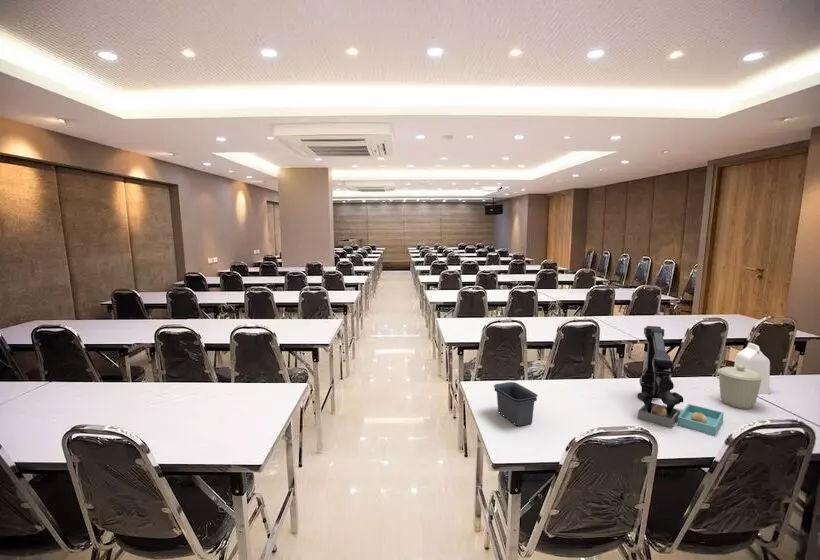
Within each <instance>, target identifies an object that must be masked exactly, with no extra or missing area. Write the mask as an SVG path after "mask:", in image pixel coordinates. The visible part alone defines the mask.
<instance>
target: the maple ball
mask: <svg viewBox="0 0 820 560" xmlns="http://www.w3.org/2000/svg"><path fill="white" fill-rule="evenodd" d="M661 405H662V404H659V405H655V406H654V407H653V408H652V413H653V414H655V415H659V416H663V417H665V416H666V414H667V411H666V409H665V408H664V407H663V406H661Z"/></svg>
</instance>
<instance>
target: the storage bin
mask: <svg viewBox="0 0 820 560" xmlns="http://www.w3.org/2000/svg"><path fill="white" fill-rule="evenodd" d="M493 388H494V392H496V400H497V412H500V413H501V414H502V415H504V416H505V417H506V418H508V419H509V420H510V421H509V420H508V419H507V420H508V421H509V422H511V421H512V422H513V423H515V424H516V425H518V426H517V427H520V426H519V425H523V426H525V425H524V424H527V425H529V424H528V423H531V424H532V423H533V416H534V408H535V402H537V400H538V398H537V397H539V396H538V394H537V393H535V392H533V391H532V390H530V389H529V388H527V387H525V386H523V385H522V384H520V383H518V382H516V381H509V382H502V383H501V382H500V383H496V384H494V385H493ZM501 414H500V415H501ZM502 415H501V416H502ZM504 416H503V417H504ZM505 417H504V418H505ZM506 418H505V419H506ZM512 422H511V423H512ZM513 423H512V424H513ZM515 424H514V425H515ZM516 425H515V426H516Z"/></svg>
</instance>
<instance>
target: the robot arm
mask: <svg viewBox="0 0 820 560" xmlns="http://www.w3.org/2000/svg"><path fill="white" fill-rule="evenodd" d="M643 334H644V337H645V339H646V341H647V351H646V365H645V366H646V367H645V368H644V369H643V370H642V372H641V373H642V374H641V375H640V377H639V386H640V387H641V390H640V391H641V392H638V393H637V399H638V400H640V401H641V402H642V403H643V405H644V404H645V406H646V409H647V411H648V413H651V405H652V404H653V403H654V402H653V401H654V400H661V401H662V403H663V405H666V406H667V414H668V415H670V413H671V411H672V409H673V408H675V406H677V405H679V404H681V403H684V396H682V395H681V394H680V393H678V392H675V391H674V392H673V391H671V390H673V388H674V387H675V386H674V385H675V384H674V382H673V380H672V378H671V379H670V375H671V376H674V375H675V374H674V373H675V372H676V371H675V367H674V362H673V360H672V359H671V356H670V355H669V354H668V353H667V352H666V346H665V341H664V337H665V329H663V328H662V327H661V326H656V325H655V326H654V325H653V326H652V325H646V327H644V328H643ZM671 360H672V361H671ZM669 369H670V371H665V370H669Z"/></svg>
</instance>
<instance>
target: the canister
mask: <svg viewBox="0 0 820 560" xmlns="http://www.w3.org/2000/svg"><path fill="white" fill-rule="evenodd" d="M717 373H718V379H719V380H718V381H719V382H718V383H719V394H720V399H721V401H722V402H723V403H725V404H726V405H728V406H730V407H733V408H737V409H752V408H753V407H754V406H755V405H756V402H757V399H758V395H759V394H758V392H759V388H760V384H761V380H763V376H762V375H760V374H759V373H757V372H755V371H752V370H749V369H745V367H744V366H743V365H740V364H739V365H736V367H734V366H723V367H721V368H717Z"/></svg>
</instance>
